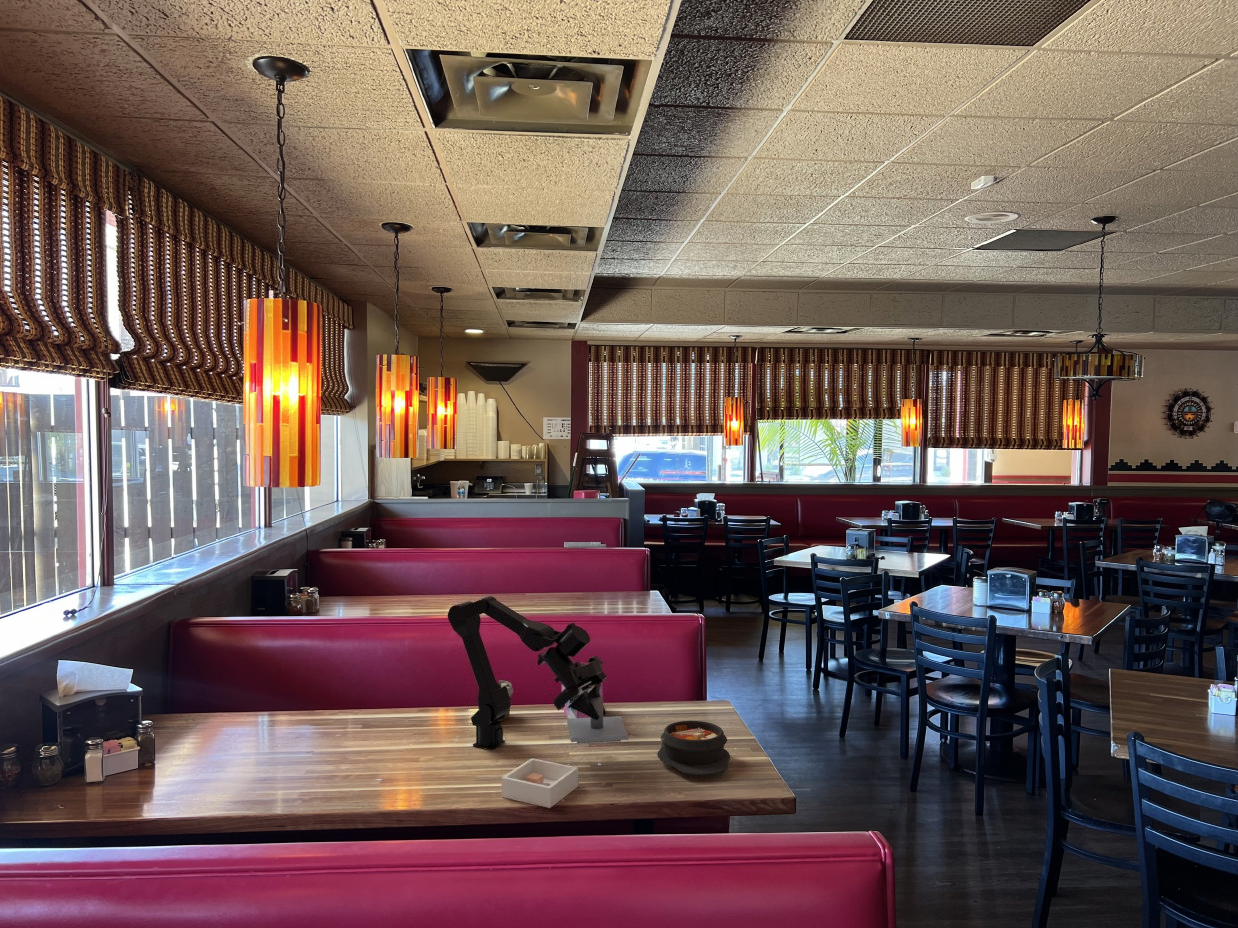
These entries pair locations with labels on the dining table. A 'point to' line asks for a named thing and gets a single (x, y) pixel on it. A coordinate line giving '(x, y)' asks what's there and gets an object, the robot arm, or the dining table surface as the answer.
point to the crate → (540, 782)
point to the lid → (597, 727)
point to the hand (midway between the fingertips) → (601, 716)
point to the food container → (510, 691)
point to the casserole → (694, 748)
